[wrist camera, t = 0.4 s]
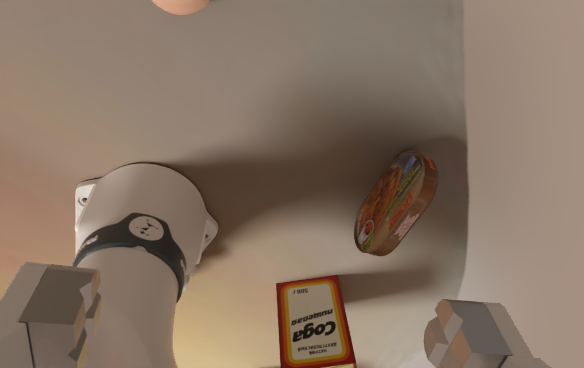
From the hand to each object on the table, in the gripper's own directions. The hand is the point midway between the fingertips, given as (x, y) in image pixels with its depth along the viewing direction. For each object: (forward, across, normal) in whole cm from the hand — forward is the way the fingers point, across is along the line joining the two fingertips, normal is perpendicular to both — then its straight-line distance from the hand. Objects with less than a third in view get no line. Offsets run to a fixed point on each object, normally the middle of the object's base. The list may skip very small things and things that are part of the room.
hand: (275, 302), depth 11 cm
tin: (+44, +21, -24) cm, 54 cm away
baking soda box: (+44, +14, -45) cm, 64 cm away
